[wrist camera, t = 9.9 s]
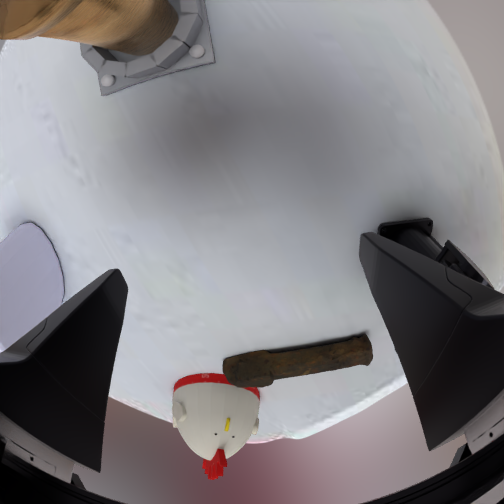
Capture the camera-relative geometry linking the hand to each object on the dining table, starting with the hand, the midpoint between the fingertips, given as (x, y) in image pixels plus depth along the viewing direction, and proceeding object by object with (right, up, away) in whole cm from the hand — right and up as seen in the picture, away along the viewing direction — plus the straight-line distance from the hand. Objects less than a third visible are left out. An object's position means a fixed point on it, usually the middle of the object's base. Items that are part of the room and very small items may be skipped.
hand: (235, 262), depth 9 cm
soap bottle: (-25, -1, +16) cm, 30 cm away
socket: (-7, +17, +4) cm, 19 cm away
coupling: (-7, +17, +4) cm, 18 cm away
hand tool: (+6, -13, +24) cm, 28 cm away
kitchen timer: (-5, -22, +30) cm, 38 cm away
